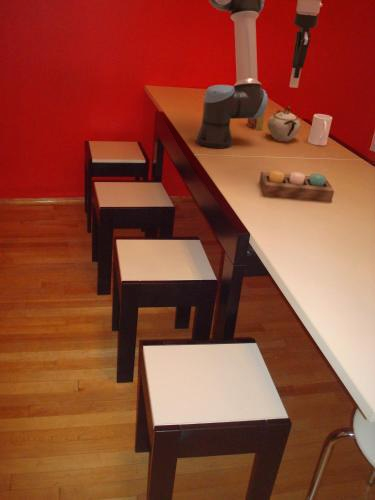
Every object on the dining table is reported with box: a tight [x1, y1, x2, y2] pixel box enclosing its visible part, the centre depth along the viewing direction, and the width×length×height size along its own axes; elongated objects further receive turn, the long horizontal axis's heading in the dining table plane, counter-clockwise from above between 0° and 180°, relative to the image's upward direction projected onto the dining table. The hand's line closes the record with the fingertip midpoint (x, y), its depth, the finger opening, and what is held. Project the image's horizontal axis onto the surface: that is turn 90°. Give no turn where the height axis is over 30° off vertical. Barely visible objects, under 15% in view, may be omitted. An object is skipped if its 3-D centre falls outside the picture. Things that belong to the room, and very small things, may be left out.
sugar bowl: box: [267, 105, 302, 142], centre depth 223 cm, size 20×15×15 cm
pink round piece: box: [289, 171, 306, 185], centre depth 169 cm, size 5×5×5 cm
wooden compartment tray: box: [258, 171, 335, 203], centre depth 170 cm, size 23×12×4 cm, turn 90°
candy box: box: [246, 110, 266, 131], centre depth 236 cm, size 9×4×15 cm, turn 23°
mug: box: [307, 113, 333, 147], centre depth 222 cm, size 12×8×12 cm
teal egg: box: [309, 173, 327, 187], centre depth 169 cm, size 5×5×5 cm
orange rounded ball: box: [269, 169, 285, 183], centre depth 169 cm, size 5×5×5 cm
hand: (293, 86), depth 176 cm, fingers closed
